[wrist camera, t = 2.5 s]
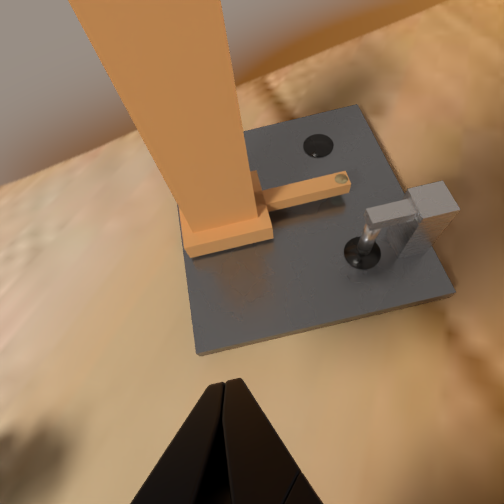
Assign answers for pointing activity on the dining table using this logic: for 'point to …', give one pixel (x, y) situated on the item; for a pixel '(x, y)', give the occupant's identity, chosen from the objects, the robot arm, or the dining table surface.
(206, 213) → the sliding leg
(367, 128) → the plate
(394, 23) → the dining table surface
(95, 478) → the dining table surface
